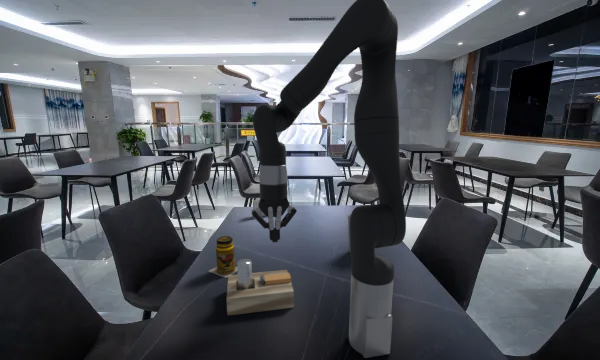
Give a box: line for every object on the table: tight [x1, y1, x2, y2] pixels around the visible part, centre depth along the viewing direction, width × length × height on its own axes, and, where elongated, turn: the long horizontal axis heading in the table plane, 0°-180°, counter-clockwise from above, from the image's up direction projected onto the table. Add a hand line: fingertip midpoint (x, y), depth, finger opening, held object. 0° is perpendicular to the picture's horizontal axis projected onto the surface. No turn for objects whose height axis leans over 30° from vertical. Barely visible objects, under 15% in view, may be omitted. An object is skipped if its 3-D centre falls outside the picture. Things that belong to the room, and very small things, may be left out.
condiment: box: [208, 235, 238, 279], centre depth 99 cm, size 7×8×12 cm
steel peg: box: [236, 258, 253, 290], centre depth 82 cm, size 4×4×12 cm
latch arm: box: [260, 272, 292, 285], centre depth 84 cm, size 9×3×1 cm, turn 101°
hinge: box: [252, 197, 266, 220], centre depth 158 cm, size 14×5×10 cm, turn 124°
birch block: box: [226, 269, 295, 317], centre depth 84 cm, size 12×18×5 cm, turn 101°
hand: (274, 241), depth 81 cm, fingers closed
